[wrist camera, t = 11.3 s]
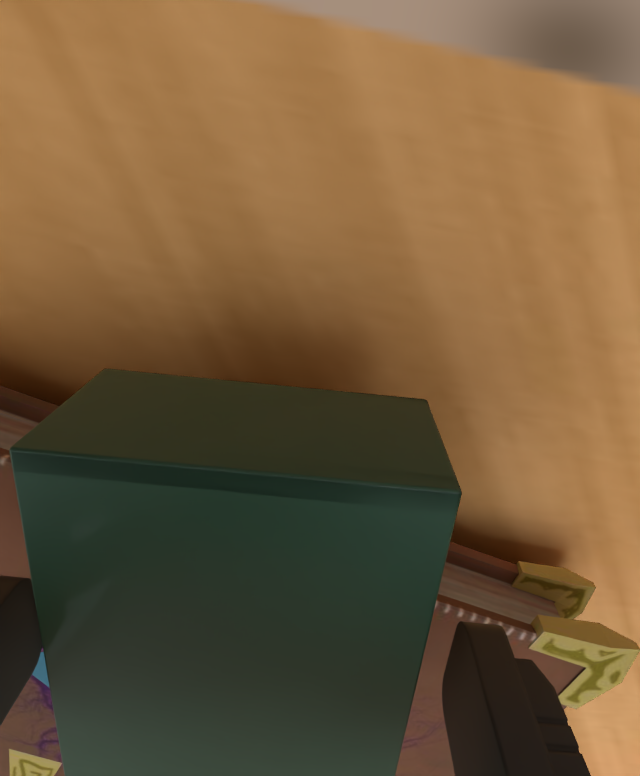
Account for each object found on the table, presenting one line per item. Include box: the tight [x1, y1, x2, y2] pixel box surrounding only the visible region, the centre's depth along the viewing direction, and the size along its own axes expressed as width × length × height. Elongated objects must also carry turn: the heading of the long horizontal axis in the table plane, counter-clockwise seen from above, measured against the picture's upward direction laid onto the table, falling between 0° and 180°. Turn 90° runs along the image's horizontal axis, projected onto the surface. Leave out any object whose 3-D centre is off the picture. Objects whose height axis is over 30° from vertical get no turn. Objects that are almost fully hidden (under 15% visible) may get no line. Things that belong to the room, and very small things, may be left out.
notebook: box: [9, 369, 462, 776], centre depth 10 cm, size 9×6×3 cm, turn 175°
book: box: [0, 386, 640, 776], centre depth 16 cm, size 16×25×5 cm, turn 69°
